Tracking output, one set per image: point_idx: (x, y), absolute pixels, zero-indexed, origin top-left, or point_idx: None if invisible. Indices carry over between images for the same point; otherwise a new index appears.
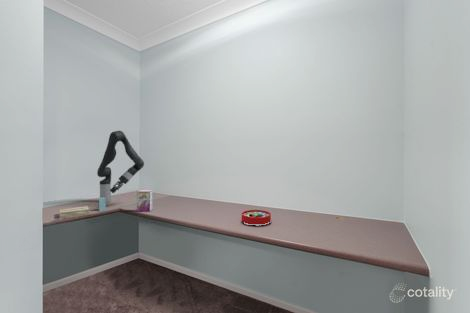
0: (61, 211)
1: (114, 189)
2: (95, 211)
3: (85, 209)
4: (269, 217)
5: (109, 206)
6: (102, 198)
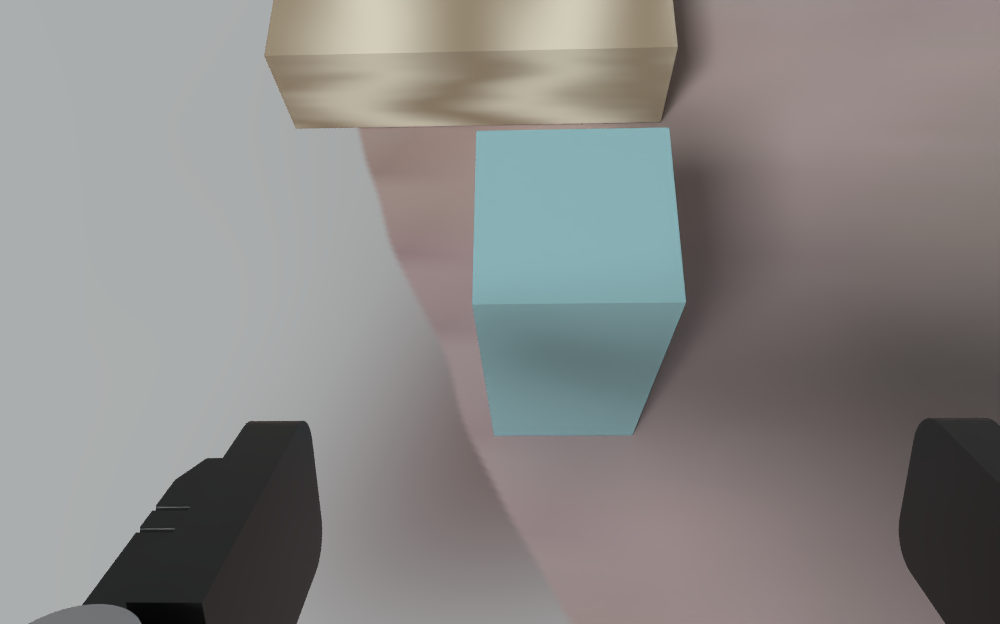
0: None
1: (102, 586)
2: None
3: (312, 7)
4: None
5: None
6: (475, 212)
